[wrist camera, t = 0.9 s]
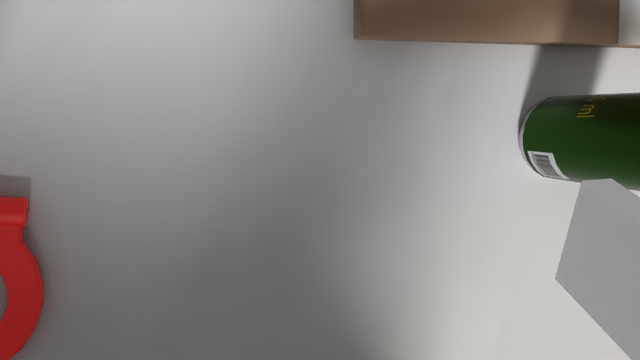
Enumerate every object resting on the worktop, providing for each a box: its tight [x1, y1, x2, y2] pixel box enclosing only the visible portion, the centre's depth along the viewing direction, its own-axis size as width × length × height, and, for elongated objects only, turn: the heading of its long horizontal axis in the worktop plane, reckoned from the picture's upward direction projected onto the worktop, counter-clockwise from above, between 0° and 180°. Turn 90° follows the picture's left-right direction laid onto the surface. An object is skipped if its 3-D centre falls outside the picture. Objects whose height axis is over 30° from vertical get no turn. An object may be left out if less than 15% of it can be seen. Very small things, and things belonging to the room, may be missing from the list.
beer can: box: [519, 93, 640, 191], centre depth 32 cm, size 5×5×12 cm
